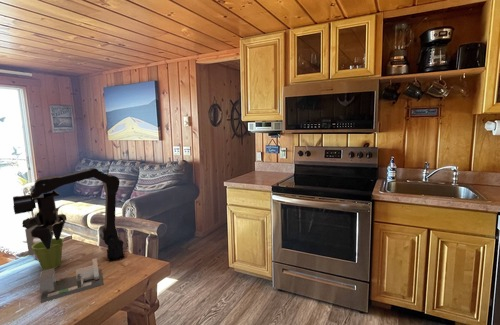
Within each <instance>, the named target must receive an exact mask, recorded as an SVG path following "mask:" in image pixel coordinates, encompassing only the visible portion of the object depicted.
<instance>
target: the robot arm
mask: <svg viewBox="0 0 500 325" xmlns="http://www.w3.org/2000/svg"><path fill="white" fill-rule="evenodd" d="M91 178H94V179H96V180H98V181H100V182H102V185H103V189H104V194H105V205H104V206H105V210H104V212H105V213H104V225H103V227H100V228H99V229H100V230H99V231H100V233H99V237H100V239H101V240H102V241H103V243H104V244H105V246H107V248H106V257H107V260H108V262H113V261H119V260H123V259H125V253H124V241H123V240H122V239H121V238H120V237H119V236H118V230H117V226H116V208H117V207H116V201H117V200H116V199H117V194H118V191H119V188H120V183H121V182H120V178H119V177H117V176H116V175H113V174H107V173H105V172H103V171H101V170H99V169H98V168H96V167H90V168H87V169H84V170H83V169H82V170H80V171H79V170H78V171H76V172H71V173H67V174H64V175H63V174H62V175H57V176H55V175H54V176H43V177H42V176H41V177H39V178H37V179H36V180H35V181H34V188H33V189H32V190H31V191H30V194H25V195H17V196H15V195H14V196H13V197H12V200H13V201H12V202H13V212H14V215H18V214H25V213H29V212H33V211H34V210H35V209H36V208H37V210H38V211H37V213H36V215H35V216H32V217H33V218H31V217H27V218H26V219H23V220H22V224H21V226H22V227H23V228H25V229H26V228H27V229H30V228H31V227H33V226H35V225H38V226H37V227H36V228H34V229H33V230H32V231H31V236H32V237H35V238H39V239H40V240H41V241H42V242H43V244H44V245H45V247H46V249H50V247H51V243H52V239H53V237H54V238H55V239H56V240H59V238H61V235H62V232H63V229H64V227H65V223H66V221H67V219H68V218H67V215H66V214H64V213H61V214H60V213H59V214H58V213H57V212H58V211H59V208H58V207H56V201H55V200H56V199H55V197H59V196H60V193H59V192H57V191H56V190H57V189H58V188H60V187H62V186H64V185H65V186H66V185H70V184H73V183H77V182H80V181H84V180H85V181H86V180H88V179H91ZM36 202H37V207H36ZM41 225H43V226H41Z"/></svg>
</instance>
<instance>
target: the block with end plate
mask: <svg viewBox="0 0 500 325" xmlns="http://www.w3.org/2000/svg"><path fill="white" fill-rule="evenodd" d="M91 260H92V265H88V266H84V267H79V268H76V269H75V276H76V278H77V279H78V278H80V282H81V285H82V284H83V281H86V280H90V279H94V278H95V280H96V279H99V272H98V270H99V266H98V264H99V263H98V258H97V257H96V258H92V259H91Z"/></svg>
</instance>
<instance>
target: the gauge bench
mask: <svg viewBox="0 0 500 325" xmlns="http://www.w3.org/2000/svg"><path fill="white" fill-rule="evenodd" d="M98 272H99V279H96V280H95V278H94V279H90V280H86V281H83V284H82V285H81V286H80V287H77V278H76V275H74V276H70V277H67V278H66V277H65V278H63V279H59V280H56V278H57V277H56V272H55V269H54V268H52V269H48V270H41V272H40V276H39V278H38V279H39V280H38V281H39V282H38V283H39V288H40V294H41V295H40V303H41V304H43V303H45V302H48V301H51V300H56V299H60V298H62V297H66V296H69V295H72V294H73V295H74V294H76V293H80V292H84V291H86V290H90V289H94V288H98V287H101V286H103V285H104V278H103V271H102V269H101V268H99V269H98ZM80 283H81V282H80Z"/></svg>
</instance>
